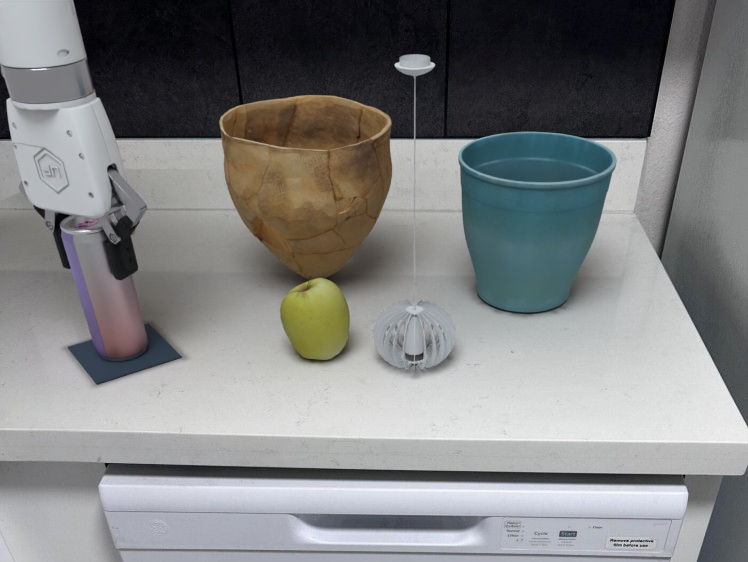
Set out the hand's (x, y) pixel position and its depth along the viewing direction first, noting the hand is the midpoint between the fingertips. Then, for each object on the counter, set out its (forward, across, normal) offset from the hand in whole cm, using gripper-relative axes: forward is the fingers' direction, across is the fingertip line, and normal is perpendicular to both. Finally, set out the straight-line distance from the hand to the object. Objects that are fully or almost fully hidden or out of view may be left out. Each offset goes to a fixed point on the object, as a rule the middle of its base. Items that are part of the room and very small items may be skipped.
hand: (100, 268), depth 85 cm
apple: (+10, +20, +10) cm, 25 cm away
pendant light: (+10, +32, +12) cm, 35 cm away
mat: (+10, 0, 0) cm, 10 cm away
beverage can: (+10, 0, 0) cm, 10 cm away
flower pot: (+10, +38, +33) cm, 51 cm away
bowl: (+10, +11, +27) cm, 31 cm away
